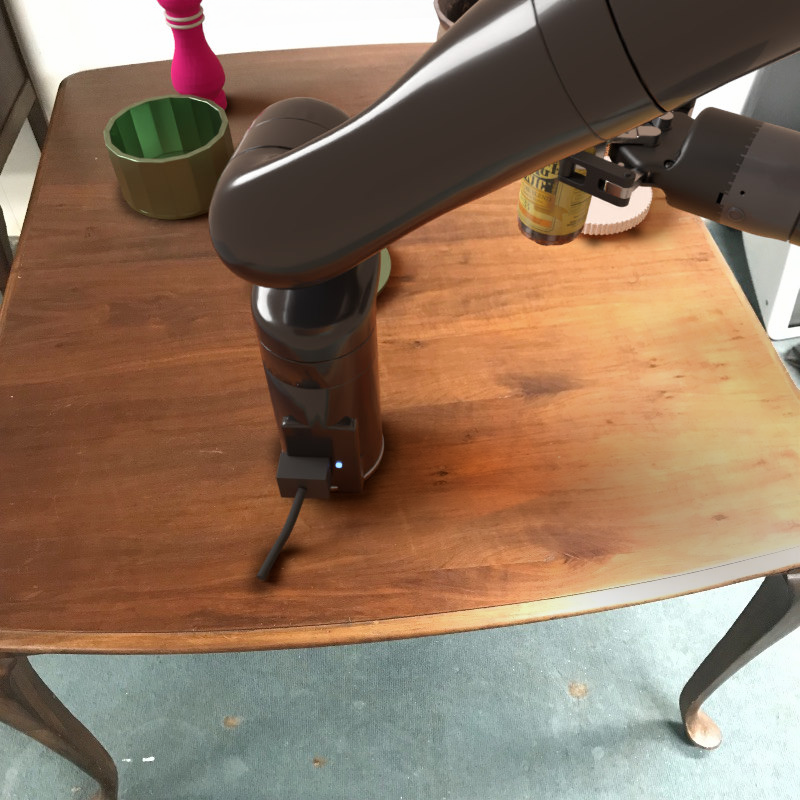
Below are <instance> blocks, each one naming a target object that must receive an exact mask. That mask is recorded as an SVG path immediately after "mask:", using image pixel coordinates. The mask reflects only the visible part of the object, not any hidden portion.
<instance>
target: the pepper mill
mask: <svg viewBox="0 0 800 800" xmlns="http://www.w3.org/2000/svg"><path fill="white" fill-rule="evenodd" d="M156 1H157V3H158V5H159V6H160V7H162V8H163V9H164V11H163V16H164V18H165V20H164V21H165V24H166V25H167V26H168V27H169V28H170V29H171V32H172V36H173V42H174V49H173V55H172V61H171V66H170V78H171V84H172V87H173V89H174V90H175V92H177V93H178V95H194V96H198V97H201V98H205V99H209V100H212V101H213V102H214V103H216V104H217V105H218V106H220V107H221V108H223V109H224V111H225V110H226V109H227V106H228V101H227V97H226V92H225V89H223V88H224V86H225V83H226V73H225V70H224V67H223V64H222V63H221V61H220V59H219V58H218V57H217V55H216V53H215V52H214V51H213V49H212V48H211V46H210V45H209V43H208V41H207V39H206V35H205V32H204V26H203V23H204V21H205V19H206V16H205V13H204V8H203V6H202V5H201V4H202V2H203V0H156Z"/></svg>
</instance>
